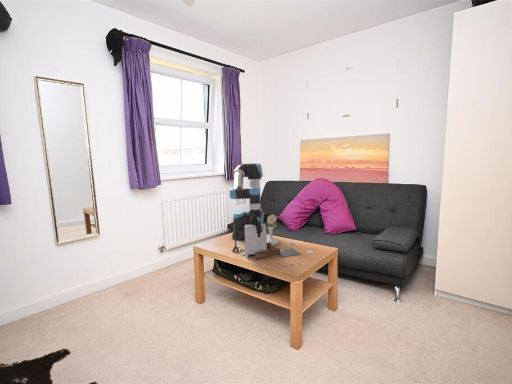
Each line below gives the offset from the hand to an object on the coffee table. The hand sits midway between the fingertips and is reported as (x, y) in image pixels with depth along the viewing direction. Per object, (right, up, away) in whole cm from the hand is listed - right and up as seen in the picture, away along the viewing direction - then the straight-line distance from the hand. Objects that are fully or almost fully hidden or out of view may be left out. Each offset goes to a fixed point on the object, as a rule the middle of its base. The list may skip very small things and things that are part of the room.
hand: (255, 239), depth 195 cm
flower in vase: (+13, -8, +24) cm, 29 cm away
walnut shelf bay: (+6, -11, +4) cm, 13 cm away
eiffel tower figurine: (-15, -11, +11) cm, 22 cm away
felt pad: (+24, -11, +4) cm, 26 cm away
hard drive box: (0, -10, +1) cm, 10 cm away
